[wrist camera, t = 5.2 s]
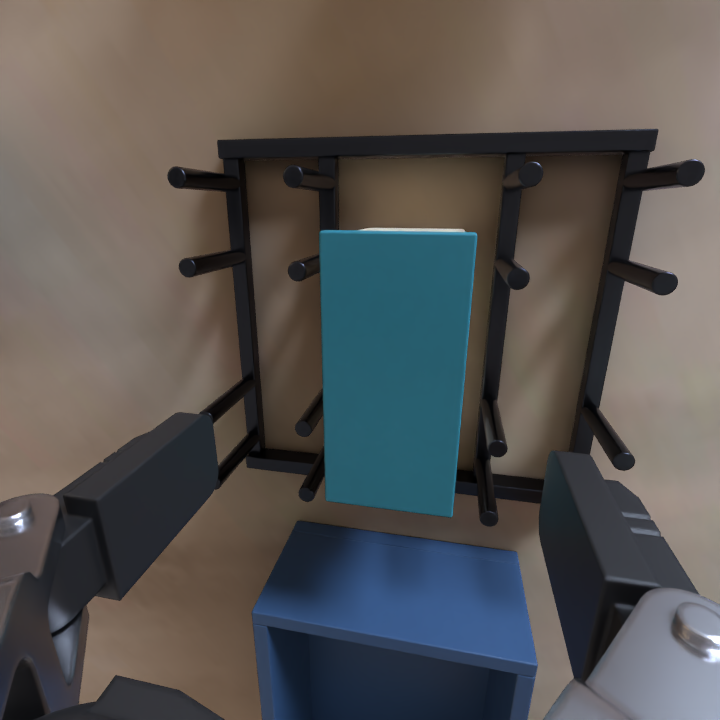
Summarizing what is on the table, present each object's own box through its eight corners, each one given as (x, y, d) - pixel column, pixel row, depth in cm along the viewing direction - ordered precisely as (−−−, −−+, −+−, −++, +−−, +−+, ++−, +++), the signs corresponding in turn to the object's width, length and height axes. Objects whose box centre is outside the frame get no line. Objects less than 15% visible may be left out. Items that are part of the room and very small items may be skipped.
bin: (484, 766, 32) (492, 905, 26) (307, 724, 35) (274, 842, 28) (517, 551, 26) (538, 665, 19) (297, 519, 28) (250, 611, 22)
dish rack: (254, 457, 28) (209, 514, 22) (228, 143, 22) (159, 123, 17) (576, 495, 24) (609, 572, 19) (647, 133, 18) (721, 104, 13)
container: (363, 414, 25) (324, 501, 18) (365, 223, 22) (318, 230, 14) (452, 422, 24) (452, 518, 17) (469, 224, 21) (478, 232, 13)
